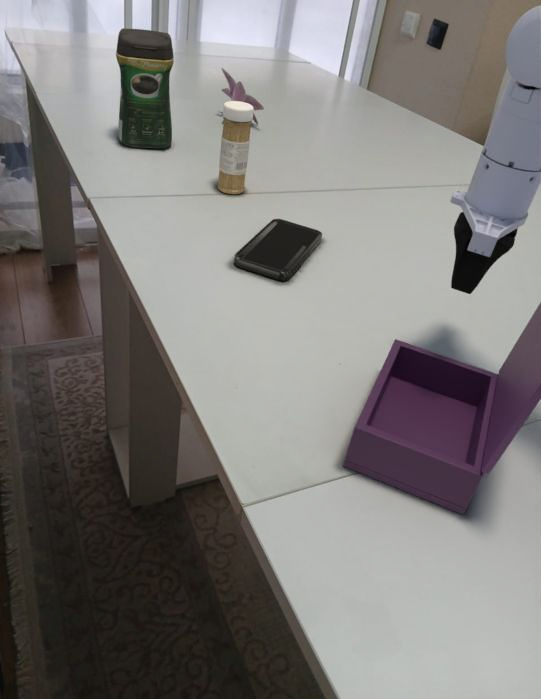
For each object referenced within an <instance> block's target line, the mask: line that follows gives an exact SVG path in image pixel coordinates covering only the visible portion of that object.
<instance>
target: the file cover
mask: <svg viewBox="0 0 541 699" xmlns="http://www.w3.org/2000/svg"><path fill="white" fill-rule="evenodd" d="M497 374H498V379H497V385H496V391H495V396H494V402H493V408H492V413H491V419H490V425H489V430H488V436H487V442H486V447H485V453H484V458H483V464H482V470H481V472H483V474H485V475H490V474H491V472H492V470H493V469H494V468H495V466H496V465H497V463H498V462H499V461H500V459H501V458H502V456H503V454H504V453H505V452H506V450H507V449H508V447H509V446H510V445H511V444H512V441H513V440H514V439H515V437H516V435H517V434H518V433H519V431H520V430H521V429H522V427H523V426H524V424H525V423H526V422H527V420H528V419H529V417H530V416H531V414H532V413H533V411H534V410H535V408H536V407H537V406H538V404H539V403H540V401H541V301H540V302H539V304H538V306H537V307H536V309H535V310H534V312H533V314H532V315H531V318H530V319H529V320H528V322H527V323H526V325H525V327H524V329H523V330H522V332H521V334H520V335H519V337H518V339H517V340H516V342H515V343H514V345H513V347H512V348H511V350H510V352H509V354H508V355H507V357H506V358H505V360H504V362H503V364H502V365H501V367H500V368H499V370H498V373H497Z"/></svg>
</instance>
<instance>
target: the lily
mask: <svg viewBox="0 0 541 699" xmlns="http://www.w3.org/2000/svg"><path fill="white" fill-rule="evenodd" d="M221 71H222V74H223V75H224V77H225V79H226V82H227V84H228V87H227V88H226V87H225V88H222V89H221V92H222V93H224V94H225V95H226V96H227V97H229V98H230V99H231V101H240V102H245V103H248V104H250V105H252V106H253V108H254V111H262V110H265V108H264V106H263V105H262V103H260V102H259V101H258V100H257V99H256V98H255V97H254V96H252V95H250V94H247V92H246V90H245V86H244V84H243V83H242V81H238V82H236V80H235V79H234V78H233V76H232V75H230V73H228V72H227V70H225V69H224V68H223V67H221ZM223 121H224V119H223V120H222V122H221V124H222V125H223ZM252 121H254V123H255V124H256V125H258V126H259V123H258V119H257V117H256V115H255V113H254V112H253V119H252Z"/></svg>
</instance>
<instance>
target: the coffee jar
mask: <svg viewBox="0 0 541 699" xmlns="http://www.w3.org/2000/svg"><path fill="white" fill-rule="evenodd" d="M115 57H116V61H117V64H118V67H119V72H120V95H119V109H118V110H119V111H118V130H117V132H118V139H119V141H120V143H121V144H124V145H125V146H127V147H134V148H141V149H142V148H143V149H165V148H167V147H169V146H171V145H172V143H173V125H172V124H173V123H172V122H173V121H172V112H171V111H172V110H171V97H170V75H171V71H172V68H173V66H174V60H175V57H174V48H173V41H172V37H171V35H170V33H168V32H164V31H158V30H151V29H150V30H149V29H141V28H126V27H125V28H120V30H119V32H118V37H117V43H116V51H115Z"/></svg>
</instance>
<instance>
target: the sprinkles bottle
mask: <svg viewBox="0 0 541 699" xmlns="http://www.w3.org/2000/svg"><path fill="white" fill-rule="evenodd" d="M254 112H255V110H254V108H253V106H252V105H250V104H248V103H245V102H240V101H232V100H228V101H225V102H224V103H223V109H222V116H223V118H222V119H223V120H224V121H223V120H222V122H223V124H222V133H221V134H222V135H221V139H220V140H221V141H220V151H219V152H220V153H219V165H218V169H219V170H218V182H217V189H218V190H219V191H220V192H222V193H224V194H229V195H239V194H243V193H244V191H245V183H246V174H247V171H248V170H247V169H248V160H249V153H250V152H249V151H250V142H251V140H250V137H251V127H252V122H253V113H254Z"/></svg>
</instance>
